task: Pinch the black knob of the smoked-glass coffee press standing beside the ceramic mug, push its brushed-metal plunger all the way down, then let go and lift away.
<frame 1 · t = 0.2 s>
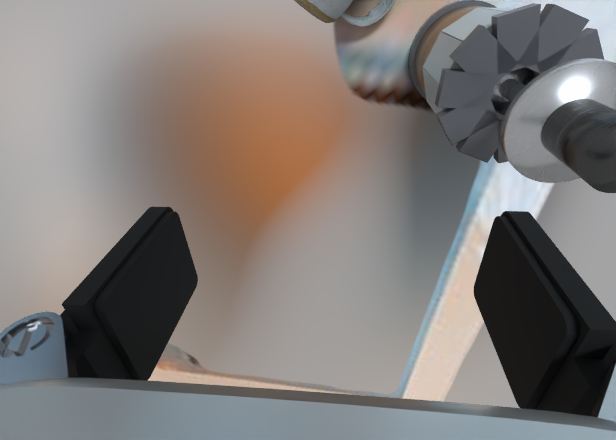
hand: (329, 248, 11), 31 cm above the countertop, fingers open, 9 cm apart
plunger: (548, 113, 19), point 19 cm above the countertop, slide at 0.0 cm
press: (457, 56, 35), on the countertop
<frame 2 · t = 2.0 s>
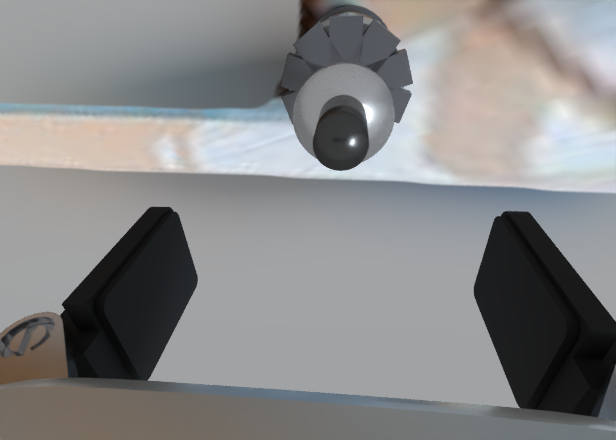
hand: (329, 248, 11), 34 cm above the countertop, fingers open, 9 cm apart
plunger: (343, 107, 22), point 19 cm above the countertop, slide at 0.0 cm
press: (348, 56, 38), on the countertop
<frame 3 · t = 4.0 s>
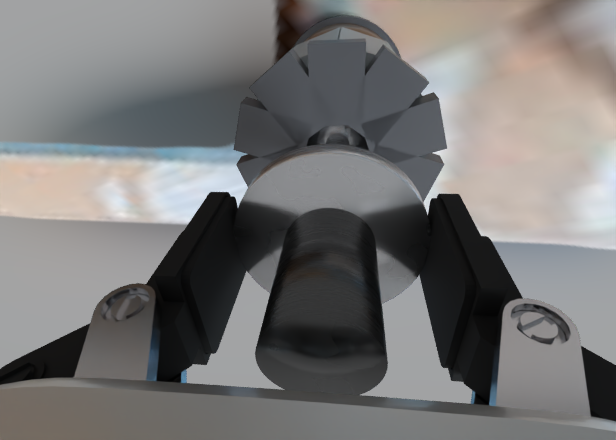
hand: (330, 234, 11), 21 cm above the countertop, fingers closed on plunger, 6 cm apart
plunger: (332, 204, 13), point 19 cm above the countertop, slide at 0.0 cm, touching gripper
press: (342, 82, 29), on the countertop
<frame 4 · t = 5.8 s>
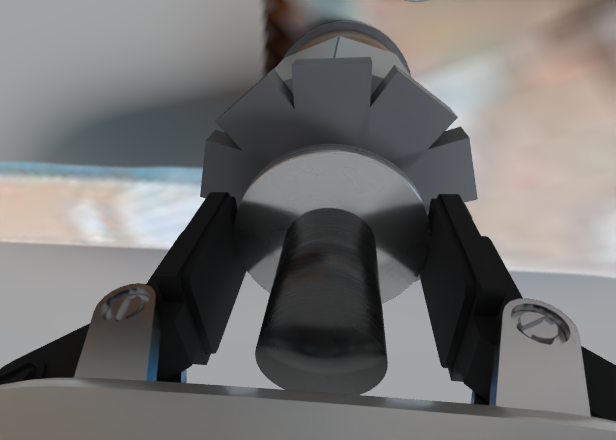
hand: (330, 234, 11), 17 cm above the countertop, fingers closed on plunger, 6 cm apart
plunger: (332, 204, 13), point 15 cm above the countertop, slide at 4.5 cm, touching gripper
press: (341, 97, 25), on the countertop
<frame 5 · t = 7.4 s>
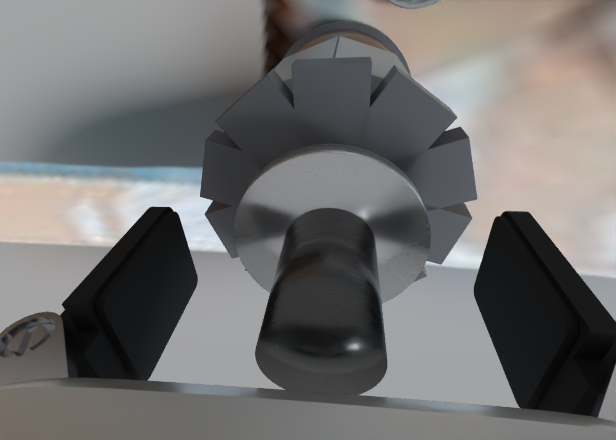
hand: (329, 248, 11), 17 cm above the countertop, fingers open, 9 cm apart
plunger: (332, 204, 13), point 15 cm above the countertop, slide at 4.5 cm
press: (341, 97, 25), on the countertop
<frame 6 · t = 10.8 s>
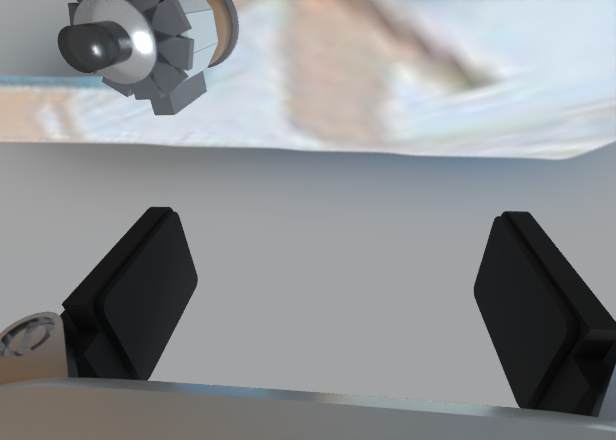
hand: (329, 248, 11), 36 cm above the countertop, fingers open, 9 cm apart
plunger: (131, 37, 28), point 15 cm above the countertop, slide at 4.5 cm
press: (197, 22, 40), on the countertop
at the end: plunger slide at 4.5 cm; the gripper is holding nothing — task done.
